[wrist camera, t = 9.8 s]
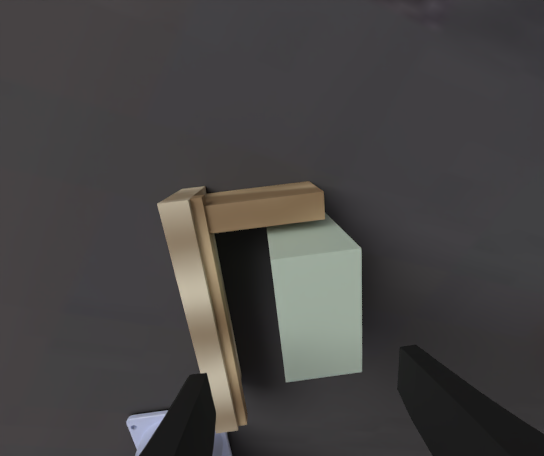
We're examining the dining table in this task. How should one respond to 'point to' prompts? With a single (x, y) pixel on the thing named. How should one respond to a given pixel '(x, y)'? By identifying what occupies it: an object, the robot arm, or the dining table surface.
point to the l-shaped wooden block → (208, 276)
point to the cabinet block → (317, 298)
